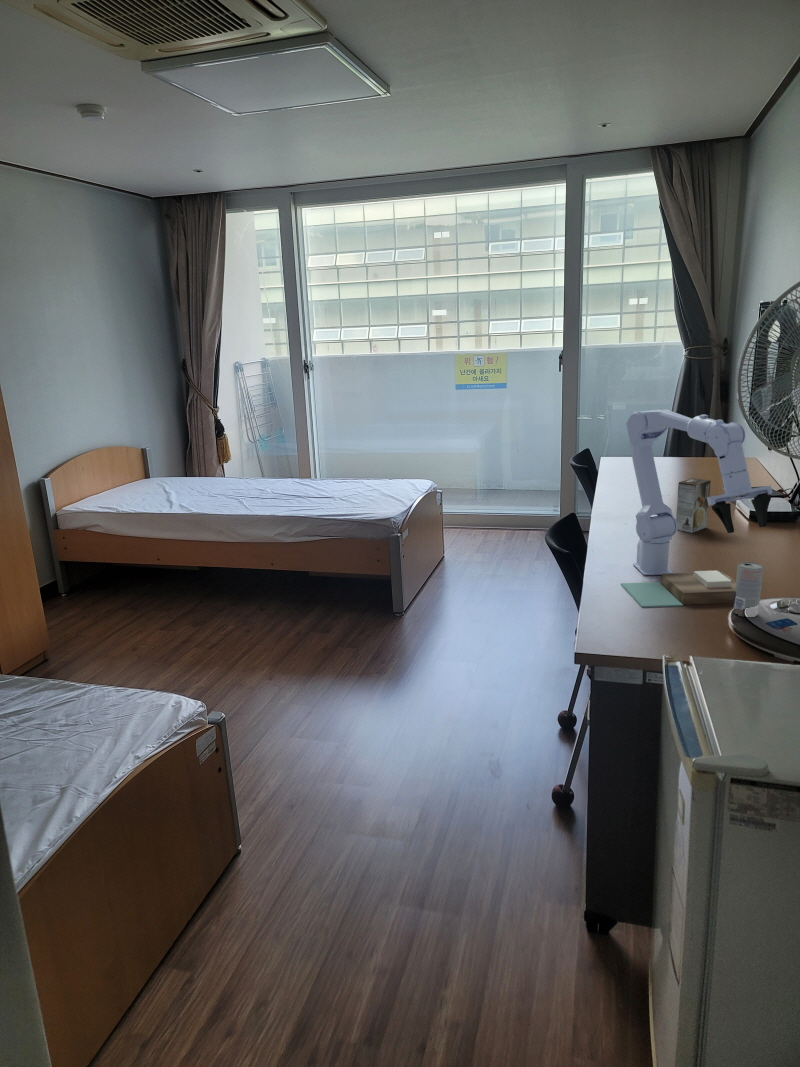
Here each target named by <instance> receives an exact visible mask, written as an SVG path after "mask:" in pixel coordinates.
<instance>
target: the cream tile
mask: <svg viewBox="0 0 800 1067" xmlns="http://www.w3.org/2000/svg"><path fill="white" fill-rule="evenodd" d="M720 572H721V571H719V570H696V571H695V570H694V571H693V573H694V574H693V577H694V578H695V579H697V580H698V581H699V582H700V583H702V584H703V585H704V586H705V587H707V588H710V587H731V580H729V579H728V578H727V577H725V576H724V575H723V574H721V573H720Z"/></svg>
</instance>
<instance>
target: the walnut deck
mask: <svg viewBox="0 0 800 1067" xmlns="http://www.w3.org/2000/svg"><path fill="white" fill-rule="evenodd" d="M719 572H720V573H721V574H723V575H724V576H725V577H727V578H728V579H729V580H731V587H710V588H707V587H705V586H704V585H703V584H702V583H700V582H699V581H698V580H697V579H695V578H694V577H693V574H694V572H680V573H679V572H676V573H674V572H673V574H662V575H661V578H660V580H661V581H660V584H661V585H662V586H663V587H665V588H666V589H667V590H668V591H669V592H670V593H671V594H672V595H673V596H674V597H675V598H676V599H678V600H679V601H680V602H681V603H682V604H683V605H707V604H734V596H735V587H736V580H735V579H733V578H732V577H731V576H730V575H728V574H727V573H725V572H724V571H719Z"/></svg>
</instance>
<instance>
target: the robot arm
mask: <svg viewBox="0 0 800 1067" xmlns="http://www.w3.org/2000/svg"><path fill="white" fill-rule="evenodd" d="M625 424H626V430H627V434H628V441H629V444H628V445H629V448H630V453H631V459H632V463H633V464H632V465H633V468H634V469H633V470H634V473H635V478H636V482H637V483H636V484H637V487H638V493H639V497H640V498H639V499H640V503H641V506H642V507H641V508H640V509H639V511H638V512H637V513H636V514H635V518H636V525H635V532H636V534H637V536H638V538H639V540H638V542H637V546H636V548H637V549H636V562H633V563H632V565H633V566H634V567H635V568H636V569H637V570H638V571H639V572H640V573H641V574H642V575H643V576H658V575H659V576H662V574H673V573H674V572H673V571H671V569H670V568H668V567H669V565H668V564H669V556H670V555H669V553H670V541H671V540H672V539H673V536H675V535H676V533H677V532H678V530H677V521H676V517H675V516H674V515H673V511H672V510H673V509H672V508H671V507H669V506H668V505H666V503H664V501H663V495H662V491H661V490H662V489H661V487H660V486H661V485H660V481H659V478H658V472H657V468H656V462H655V457H654V454H653V448H652V447H653V445H654V443H655V442H656V441H657V440H658V439H659V438H660V437H661V436H662V435H663V434H664V433H665V432H666V431H667V430H669V428H671V429H675V430H679V431H684V432H687V435H688V437H689V438H691V439H693V440H696V441H699V442H703V443H706V444H708V445H709V447H710V448H712V450H713V453H714V455H715V456H716V457H717V461H718V466H719V471H720V476H721V479H722V483H723V488H724V493H722V494H718V495H712V496H709V497H708V498H707V501H708V507H709V506H711V510H712V511H713V512H714V513H715V514H716V516H717V517H718V518H719V520H720V521H721V523H722V524H723V526H724V528H725V530H726V533H727V534H732V533H735V528H734V523H733V519H732V518H733V517H732V510H731V505H732V504H731V503H730V502H734V501H740V500H745V499H749V498H753V499H751V504H752V506H753V509H754V511H755V514H756V518H757V523H758V526H759V528H764V527H767V521H768V520H767V519H768V510H769V505H770V503H771V500H772V494H773V489H772V488H773V487H772V486H771V485H766V486H762V487H761V486H760V487H754V488H753V487H752V484H751V479H750V477H749V476H750V475H749V471H748V467H747V461H746V456H745V453H744V448H743V443H744V442H745V439H746V430H745V428H744V427H743V426H742V425H741V423H737V422H736V421H733V422H729V423H726V422H724V419H713V418H709V415H708V414H700V415H696V416H695V417H692V418H691V417H688V416H687V415H683V414H680V413H677V412H674V411H672V410H671V409H665V408H658V409H651V410H634V411H633V412H631V414H630V415H629V417H628V419H627V421H626V423H625ZM743 495H745V496H743ZM738 496H740V497H738ZM734 497H736V498H734ZM728 502H729V503H728Z"/></svg>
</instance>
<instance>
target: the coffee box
mask: <svg viewBox="0 0 800 1067" xmlns="http://www.w3.org/2000/svg"><path fill="white" fill-rule="evenodd" d="M711 481H712V480H710V479H702V478H694V477H692V478H688V479H685V480H682V481H679V482H678V487H677V502H676V515H675V519H676V521H677V531H681V532H686V533H691V534H692V533H695V532H698V531H701V530H705V529H706V528H707V525H708V516H709V515H708V513H709V506H708V501H707V498H708V497H710V491H711V483H712V482H711Z"/></svg>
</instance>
